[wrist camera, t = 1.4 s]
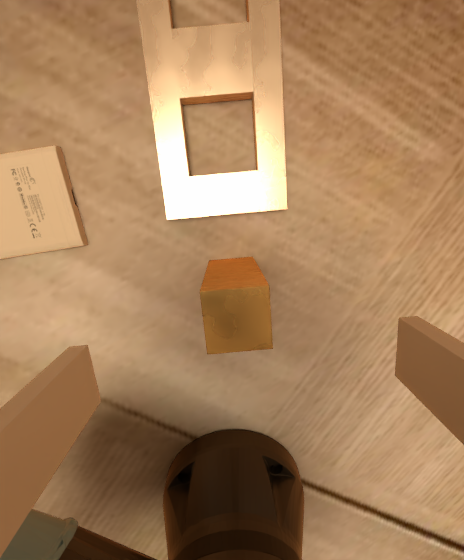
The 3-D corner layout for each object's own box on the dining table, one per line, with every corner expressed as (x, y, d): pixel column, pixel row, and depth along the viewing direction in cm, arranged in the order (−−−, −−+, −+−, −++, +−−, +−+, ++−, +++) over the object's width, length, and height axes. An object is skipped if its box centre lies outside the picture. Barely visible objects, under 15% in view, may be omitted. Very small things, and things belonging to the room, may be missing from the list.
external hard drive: (-78, 172, 24) (64, 148, 24) (-41, 265, 26) (91, 244, 26) (-100, 169, 23) (53, 143, 22) (-58, 269, 25) (82, 246, 24)
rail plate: (283, 208, 25) (287, 209, 23) (170, 219, 25) (167, 219, 23) (270, -119, 20) (274, -146, 18) (125, -107, 19) (117, -132, 18)
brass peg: (255, 298, 27) (272, 348, 17) (213, 301, 27) (207, 354, 17) (252, 256, 26) (269, 285, 16) (209, 260, 26) (199, 291, 16)
